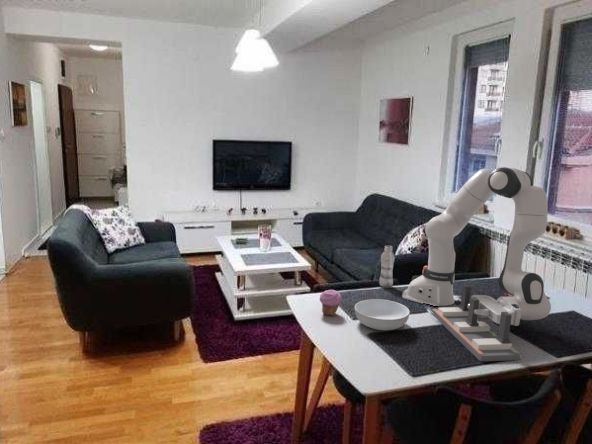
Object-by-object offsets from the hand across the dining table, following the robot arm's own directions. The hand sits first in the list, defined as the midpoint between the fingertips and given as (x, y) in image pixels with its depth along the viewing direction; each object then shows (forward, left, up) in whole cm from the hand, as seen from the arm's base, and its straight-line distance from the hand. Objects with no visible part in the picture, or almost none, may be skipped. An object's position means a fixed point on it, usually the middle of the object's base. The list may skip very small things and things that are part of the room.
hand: (471, 309), depth 172 cm
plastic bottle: (-41, +35, -10) cm, 55 cm away
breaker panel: (+1, 0, -10) cm, 10 cm away
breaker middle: (+1, 0, -6) cm, 6 cm away
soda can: (+14, +52, -10) cm, 55 cm away
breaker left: (-3, +14, -6) cm, 16 cm away
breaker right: (+12, -9, -6) cm, 16 cm away
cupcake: (-52, -9, -10) cm, 54 cm away
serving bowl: (-31, -9, -10) cm, 34 cm away
